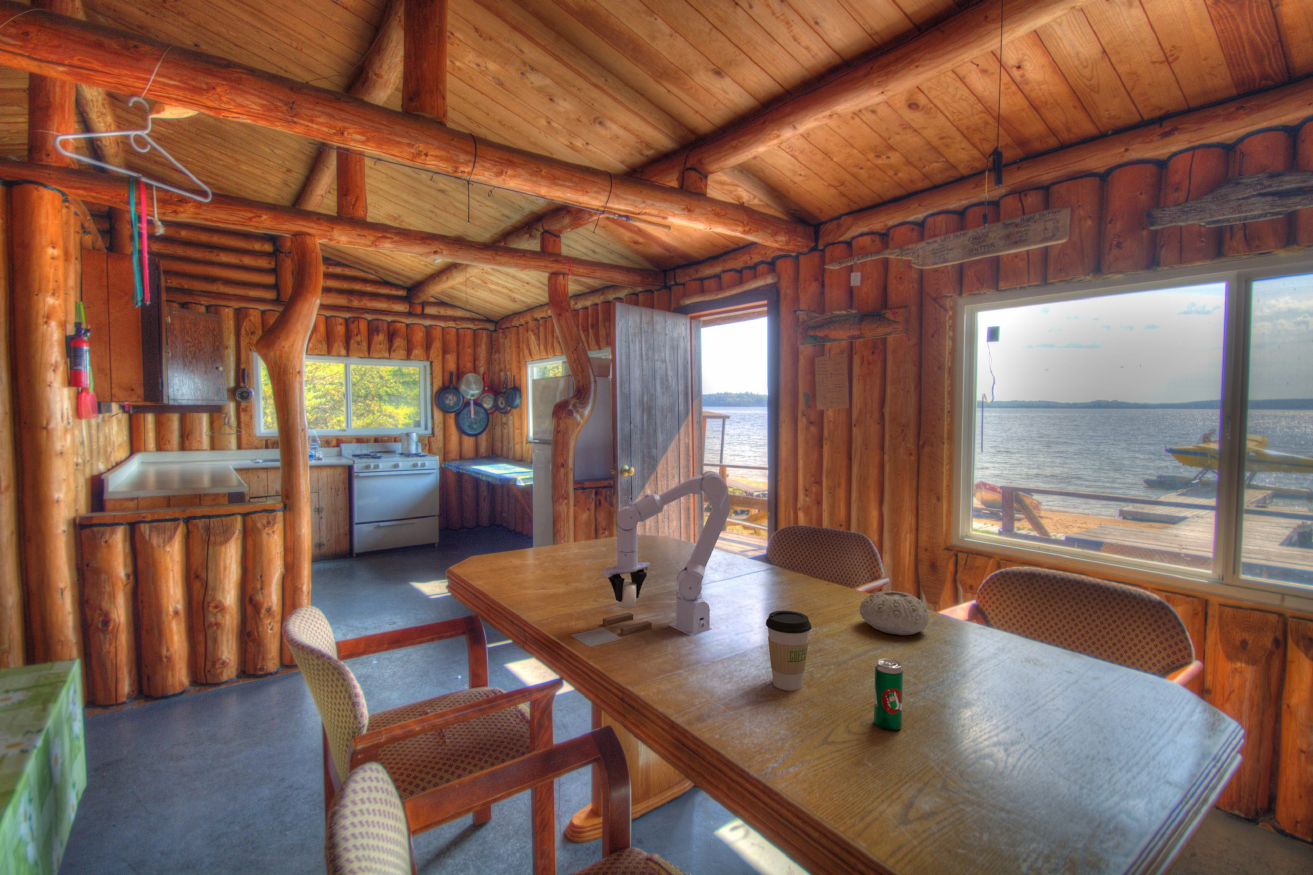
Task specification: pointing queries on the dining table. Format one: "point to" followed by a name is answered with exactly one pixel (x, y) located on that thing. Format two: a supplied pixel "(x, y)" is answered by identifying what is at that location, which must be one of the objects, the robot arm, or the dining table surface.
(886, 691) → the soda can
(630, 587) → the cream jug
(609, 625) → the walnut cradle
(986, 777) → the dining table surface
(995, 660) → the dining table surface
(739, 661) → the dining table surface
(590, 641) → the grey mat
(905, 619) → the decorative shell
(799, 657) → the coffee cup
